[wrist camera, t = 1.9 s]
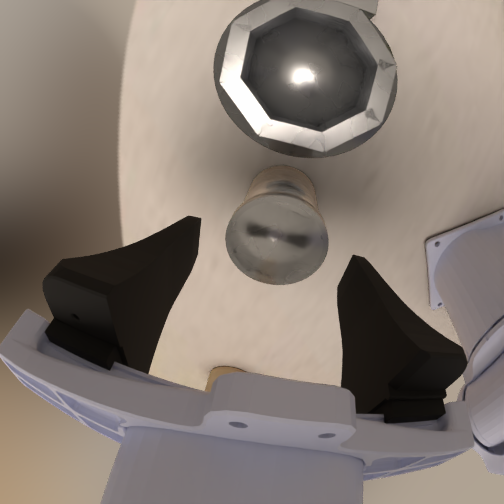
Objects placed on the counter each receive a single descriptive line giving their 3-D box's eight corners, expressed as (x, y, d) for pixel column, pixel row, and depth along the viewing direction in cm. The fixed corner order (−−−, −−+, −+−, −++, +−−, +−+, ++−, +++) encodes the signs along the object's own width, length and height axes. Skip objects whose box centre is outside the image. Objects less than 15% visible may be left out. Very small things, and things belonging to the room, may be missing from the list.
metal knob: (301, 150, 16) (305, 179, 11) (329, 215, 18) (341, 268, 13) (232, 180, 18) (206, 220, 13) (265, 239, 20) (254, 294, 15)
